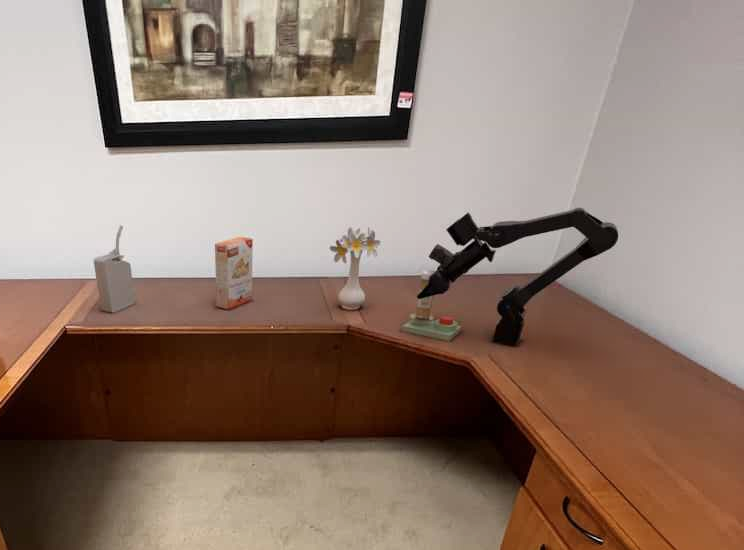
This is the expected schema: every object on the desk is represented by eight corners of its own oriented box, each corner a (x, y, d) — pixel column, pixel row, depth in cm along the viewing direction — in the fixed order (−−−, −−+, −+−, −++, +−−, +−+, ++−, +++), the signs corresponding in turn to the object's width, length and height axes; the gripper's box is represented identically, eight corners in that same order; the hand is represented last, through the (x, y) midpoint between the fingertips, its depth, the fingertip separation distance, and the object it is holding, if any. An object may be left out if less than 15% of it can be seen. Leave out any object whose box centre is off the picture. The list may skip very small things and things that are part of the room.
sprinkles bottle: (431, 316, 173) (440, 270, 165) (427, 320, 170) (435, 274, 162) (417, 313, 175) (425, 268, 167) (412, 317, 172) (420, 272, 164)
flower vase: (320, 311, 190) (326, 231, 175) (346, 298, 201) (354, 222, 187) (354, 318, 183) (363, 236, 168) (379, 304, 195) (389, 226, 180)
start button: (453, 323, 169) (454, 317, 168) (449, 326, 167) (450, 320, 166) (442, 321, 171) (443, 315, 170) (437, 324, 169) (438, 318, 168)
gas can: (129, 299, 204) (119, 224, 189) (139, 301, 202) (130, 225, 187) (101, 311, 193) (88, 232, 178) (112, 313, 191) (100, 234, 176)
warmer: (460, 331, 172) (463, 320, 170) (449, 341, 166) (451, 329, 164) (414, 322, 180) (416, 311, 178) (401, 331, 173) (403, 319, 171)
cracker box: (229, 310, 192) (227, 245, 179) (215, 307, 195) (213, 243, 182) (253, 300, 201) (253, 237, 188) (240, 297, 204) (239, 235, 191)
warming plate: (437, 316, 173) (437, 315, 173) (428, 323, 169) (428, 322, 168) (415, 312, 177) (415, 311, 177) (405, 318, 172) (406, 317, 172)
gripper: (456, 229, 164) (412, 265, 174) (444, 242, 150) (397, 280, 161) (477, 260, 166) (433, 294, 176) (467, 275, 152) (420, 310, 163)
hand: (420, 293), depth 169 cm, fingers open, 8 cm apart
